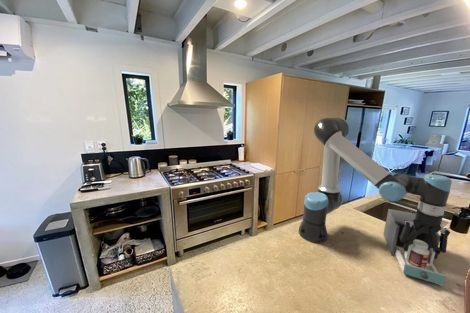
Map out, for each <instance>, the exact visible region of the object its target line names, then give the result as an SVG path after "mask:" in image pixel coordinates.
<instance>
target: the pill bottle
mask: <svg viewBox="0 0 470 313" xmlns="http://www.w3.org/2000/svg"><path fill="white" fill-rule="evenodd" d="M428 258H429V250H428V244H427V243H425V242H423V241H421V240H413V244H411V251H410V256H409V260H408V259H407V263H408V264H409V265H412V266H416V267H419V268H423V269H426V267H427V262H428Z"/></svg>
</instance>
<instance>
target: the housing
mask: <svg viewBox="0 0 470 313" xmlns="http://www.w3.org/2000/svg"><path fill="white" fill-rule="evenodd" d="M415 216H416V213H414V212H408V211H403V210H397V209H393V208H392V209H391V208H388V209H387V214H386V219H385V225H384V229H383V230H384V231H383V238H384V240H385V242H386V246H387V248H388V250H389V253H390V255H391V256H395V257H396V254H395V252H394V251H395V246H399V247H404V243H402V242H401V240H400V236H401V233H402V231H403V228H404V225H405V223H404V221H405V220H407V221H413V220H414V219H415ZM414 228H415V225H412V226H411V227H410V230H409V232H408V235H407V237H408V236H409V235H410V233H411V232H412V231H413V230H414ZM435 235H436V240H437V244H438V247H439V244H440V234H439V233H438V231H437V232H436V233H435ZM407 237H406V238H407ZM414 240H421V241H423V242H425V243H427V244H428V250H429V251H430V248H432V249H433V246H432V242H431V238H430V235H429V234H426V233H421V234H420V235H418V236H417V237H416V238H415V239H414ZM411 244H413V242H412V243H411ZM411 244H410V245H411ZM435 260H436V259H434V260H433V265H434V264H435Z"/></svg>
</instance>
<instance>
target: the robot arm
mask: <svg viewBox="0 0 470 313" xmlns="http://www.w3.org/2000/svg"><path fill="white" fill-rule="evenodd" d="M350 130H351V127H350V124H349V122H348V121H347V120H346V119H344V118H342V117H325V118H320V119H319V120H318V121H317V122H316V123H315V124H314V126H313V133H314V136H315V137H316V139H317V140H318V141H319V142H320V143H321V144H322V145H323V156H322V157H323V158H322V168H321V169H322V171H321V184H320V185H319V186H318V187H317V191H315V192H314V191H313V192H308V193H307V194H305V195H304V196H305V197H304V200H303V203H304V205H303V214H302V216H303V217H302V220H301V223H300V224H299V227H298V234H299V235H300V236H301V237H302V238H303V239H305V240H306V241H309V242H311V243H318V244H319V243H323V242H326V241H327V240H328V234H329V233H328V229H327V226H326V222H327V215H329V214H331V213H332V212H333V211H335V210H337V209H339V208H340V207H341V206H342V205H343V201H344V200H343V195H342V193H341V189H340V188H339V174H340V164H341V159H343V160H344V161H345V162H346V163H348V164H349V165H350V166H351V167H352V168H353V169H355V170H356V171H357V172H358V173H359V174H360V175H362V176H363V177H364V178H365V179H366V180H367V181H368V182H370V184H372V185H373V186H375V188H377V189H378V193H379V195H380V197H381V198H382V199H384V200H386V201H388V202H397V201H401V200H402V199H403V198H405V196H406V195H407V194H411V195H414V196H418V197H419V200H418V204H417V209H416V212H415V214H416V216H415V219H414V220H413V221H407V220H405V221H404V223H405V225H404V228H403V231H402V233H401V236H400V240H401V242H402V243H404V247H403V248H404V251H405V257H406V259H408V260H409V256H410V251H411V245H410V244H411V243H412V242H413V240H414V239H415V238H416V237H417V236H418V235H420V234H421V233H426V234H429V235H430V238H431V242H432V246H433V249H432V248H430V251H429V258H428V264H429V265H430V266H432V263H433V260H434V259H435V260H437V259H438V255H439V254H441V253H443V254H445V253H447V247H448V246H447V245H448V237H449V235H450V234H451V231H450V230H449V229H448V228H447V227H442V226H441V225H442V223H443V222H442V221H443V216H444V214H445V210H446V205H447V203H448V199H449V195H450V193H451V192H450V191H451V188H452V179H451V178H450V177H447V176H445V175H439V174H433V173H429V174H425V175H424V176H423V177H419V176H414V175H407V174H403V173H400V172H393V171H390V172H389V170H387V169H385V168H384V167H382V165H380V164H379V163H378V162H377V161H375V160H374V159H372V157H370V156H369V155H367V154H366V153H365V152H364V151H363V150H361V149H360V148H358V147H357V146H356V145H355V144H354V143H353V142H351V141H350V140H348V139H347V138H346V137H347V136H348V135H349V133H350ZM412 225H415V228H414V230H413V231H412V232H411V233H410V235H409V236H408V237H407V235H408V232H409V230H410V227H411V226H412ZM439 231H440V234H439V235H440V242H439V246H438V244H437V240H436V235H435V233H436V232H437V233H438V232H439ZM406 237H407V238H406ZM435 260H434V261H435Z"/></svg>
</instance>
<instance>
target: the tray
mask: <svg viewBox="0 0 470 313" xmlns="http://www.w3.org/2000/svg"><path fill="white" fill-rule="evenodd" d="M394 252H395V254H396V256H395V257H396V259H397V261H398V264H399V266H400V269H401V272H402V273H403V275H406V276H409V277H412V278H416V279H420V280H424V281H426V282H430V283H433V284H436V285H440V286H444V284H445V279H446V275H445V274H444V273H440V272H439V270H437V268H436V266H435V265H434V264H433V263H432V266H430V265H429V264H428V262H427V267H426V269H423V268H419V267H416V266H412V265H409V264H408V263H407V259H406V257H405V251H404V248H403V247H399V246H395V251H394Z"/></svg>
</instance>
